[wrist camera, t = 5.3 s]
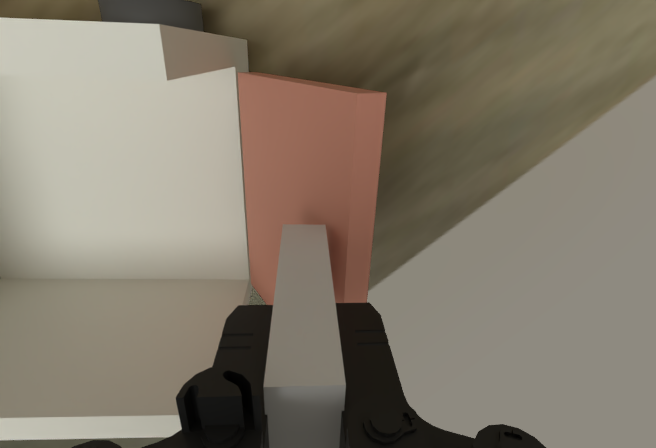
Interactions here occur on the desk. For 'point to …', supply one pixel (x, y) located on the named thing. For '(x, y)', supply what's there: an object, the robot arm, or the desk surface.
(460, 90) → the desk surface
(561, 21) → the desk surface
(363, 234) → the panel
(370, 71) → the desk surface
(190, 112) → the truck
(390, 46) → the desk surface
